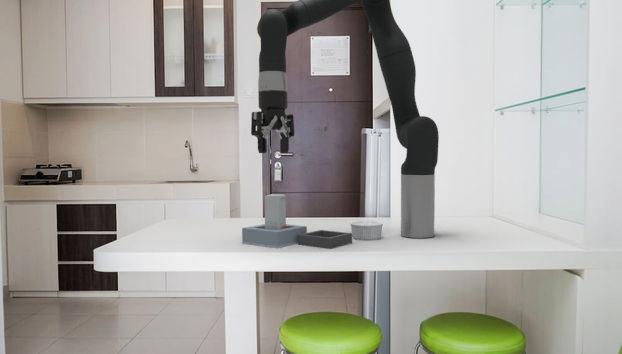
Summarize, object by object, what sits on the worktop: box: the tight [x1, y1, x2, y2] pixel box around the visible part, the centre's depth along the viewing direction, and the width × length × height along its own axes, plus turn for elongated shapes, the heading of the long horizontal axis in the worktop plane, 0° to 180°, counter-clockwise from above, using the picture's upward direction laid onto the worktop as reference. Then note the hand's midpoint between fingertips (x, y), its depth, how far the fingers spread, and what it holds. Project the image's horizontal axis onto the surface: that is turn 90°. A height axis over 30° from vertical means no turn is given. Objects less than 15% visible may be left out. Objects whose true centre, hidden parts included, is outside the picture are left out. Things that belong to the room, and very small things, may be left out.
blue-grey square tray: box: [241, 223, 308, 249], centre depth 134 cm, size 12×12×4 cm
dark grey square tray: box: [297, 229, 353, 249], centre depth 131 cm, size 10×10×2 cm
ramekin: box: [350, 220, 384, 241], centre depth 140 cm, size 9×9×4 cm
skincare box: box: [264, 193, 287, 230], centre depth 134 cm, size 6×4×12 cm
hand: (273, 153), depth 133 cm, fingers open, 8 cm apart
